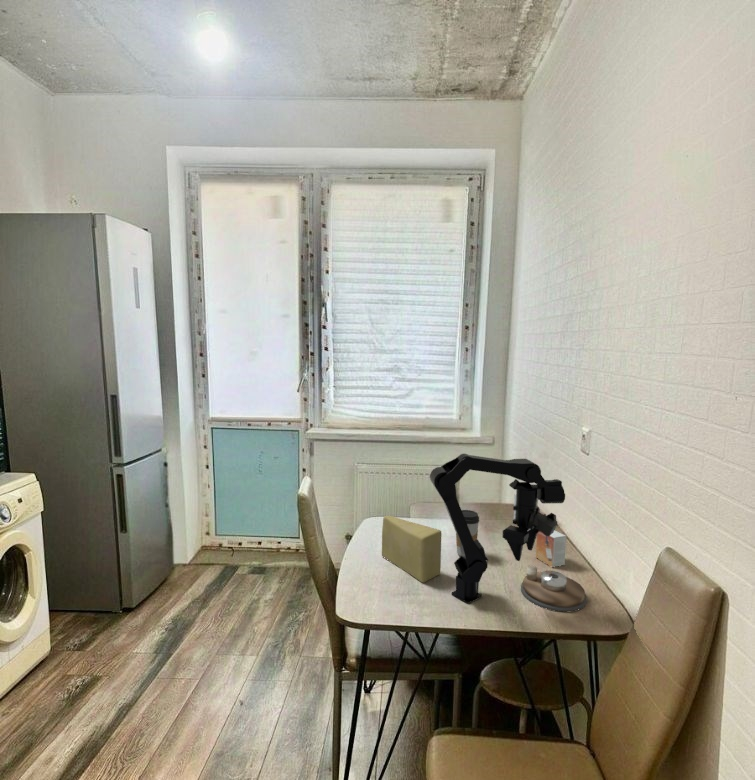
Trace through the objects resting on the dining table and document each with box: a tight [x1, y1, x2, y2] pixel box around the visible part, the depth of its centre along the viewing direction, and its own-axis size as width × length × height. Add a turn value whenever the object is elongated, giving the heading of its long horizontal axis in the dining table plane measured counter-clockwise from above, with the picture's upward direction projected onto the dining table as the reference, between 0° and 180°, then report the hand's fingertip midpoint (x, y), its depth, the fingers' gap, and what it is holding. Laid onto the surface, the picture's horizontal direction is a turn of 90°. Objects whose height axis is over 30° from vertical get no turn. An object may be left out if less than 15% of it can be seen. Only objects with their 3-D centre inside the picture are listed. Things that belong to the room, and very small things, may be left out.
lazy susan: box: [522, 564, 586, 607], centre depth 131 cm, size 17×17×5 cm
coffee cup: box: [455, 509, 480, 557], centre depth 156 cm, size 8×8×15 cm
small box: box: [535, 529, 567, 568], centre depth 152 cm, size 8×6×10 cm
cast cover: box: [541, 570, 567, 592], centre depth 131 cm, size 7×7×3 cm
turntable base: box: [520, 581, 587, 613], centre depth 132 cm, size 18×19×1 cm
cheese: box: [381, 515, 442, 583], centre depth 147 cm, size 22×10×15 cm, turn 44°
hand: (524, 555), depth 130 cm, fingers open, 9 cm apart
